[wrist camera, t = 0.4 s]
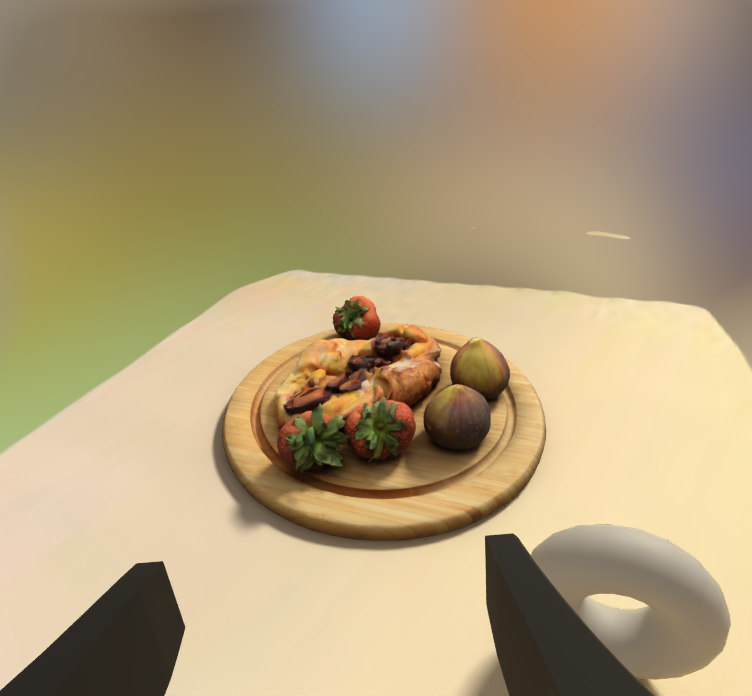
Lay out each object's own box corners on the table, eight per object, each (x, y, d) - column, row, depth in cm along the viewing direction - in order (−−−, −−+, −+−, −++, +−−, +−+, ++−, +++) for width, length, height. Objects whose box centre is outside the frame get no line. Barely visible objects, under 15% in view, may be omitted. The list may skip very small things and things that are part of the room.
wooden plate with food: (267, 338, 64) (257, 281, 59) (506, 336, 62) (514, 277, 58) (172, 546, 36) (141, 469, 32) (594, 551, 35) (620, 470, 31)
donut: (688, 654, 28) (752, 543, 23) (699, 718, 25) (775, 608, 20) (515, 597, 31) (538, 489, 26) (508, 649, 28) (532, 539, 23)
